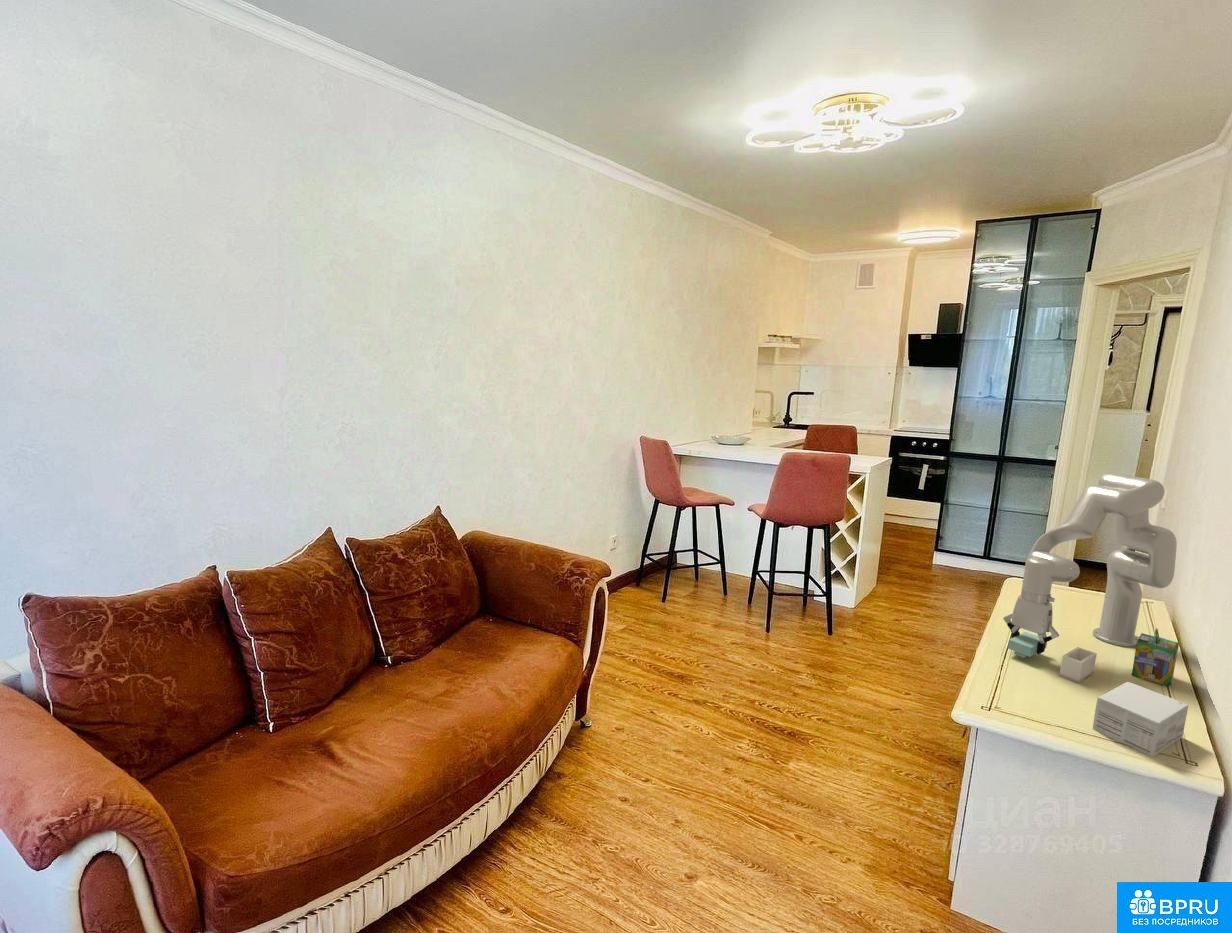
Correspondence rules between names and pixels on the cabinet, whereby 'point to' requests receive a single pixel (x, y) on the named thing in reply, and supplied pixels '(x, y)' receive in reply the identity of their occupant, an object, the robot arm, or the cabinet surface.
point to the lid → (1024, 644)
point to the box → (1077, 664)
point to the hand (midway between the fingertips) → (1027, 648)
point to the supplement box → (1140, 718)
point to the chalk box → (1155, 659)
